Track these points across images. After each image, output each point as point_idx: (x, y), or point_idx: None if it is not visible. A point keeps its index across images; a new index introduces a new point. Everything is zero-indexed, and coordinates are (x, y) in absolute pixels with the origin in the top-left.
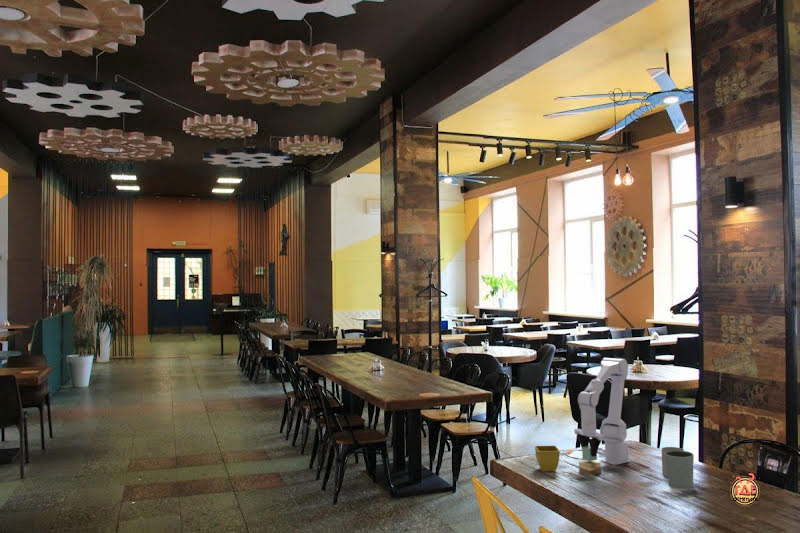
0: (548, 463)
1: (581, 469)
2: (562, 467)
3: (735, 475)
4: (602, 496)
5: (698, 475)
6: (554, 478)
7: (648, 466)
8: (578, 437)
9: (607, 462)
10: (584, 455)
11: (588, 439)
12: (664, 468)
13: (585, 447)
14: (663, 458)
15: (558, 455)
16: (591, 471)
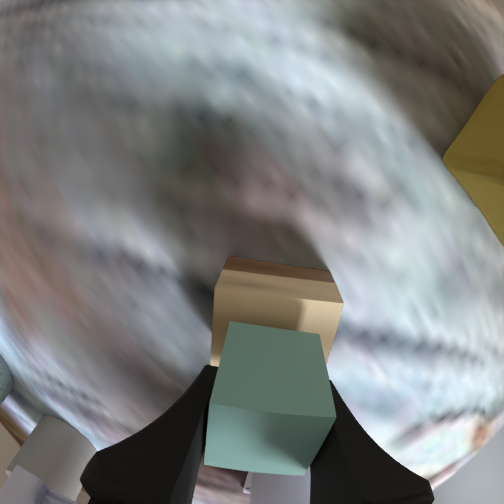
0: (485, 106)
1: (309, 275)
2: (450, 268)
3: None
4: (3, 45)
5: None
6: (345, 26)
7: None
8: (403, 499)
9: None
10: (296, 354)
11: (161, 500)
12: (54, 439)
13: (284, 420)
14: (43, 464)
15: (482, 158)
16: None
